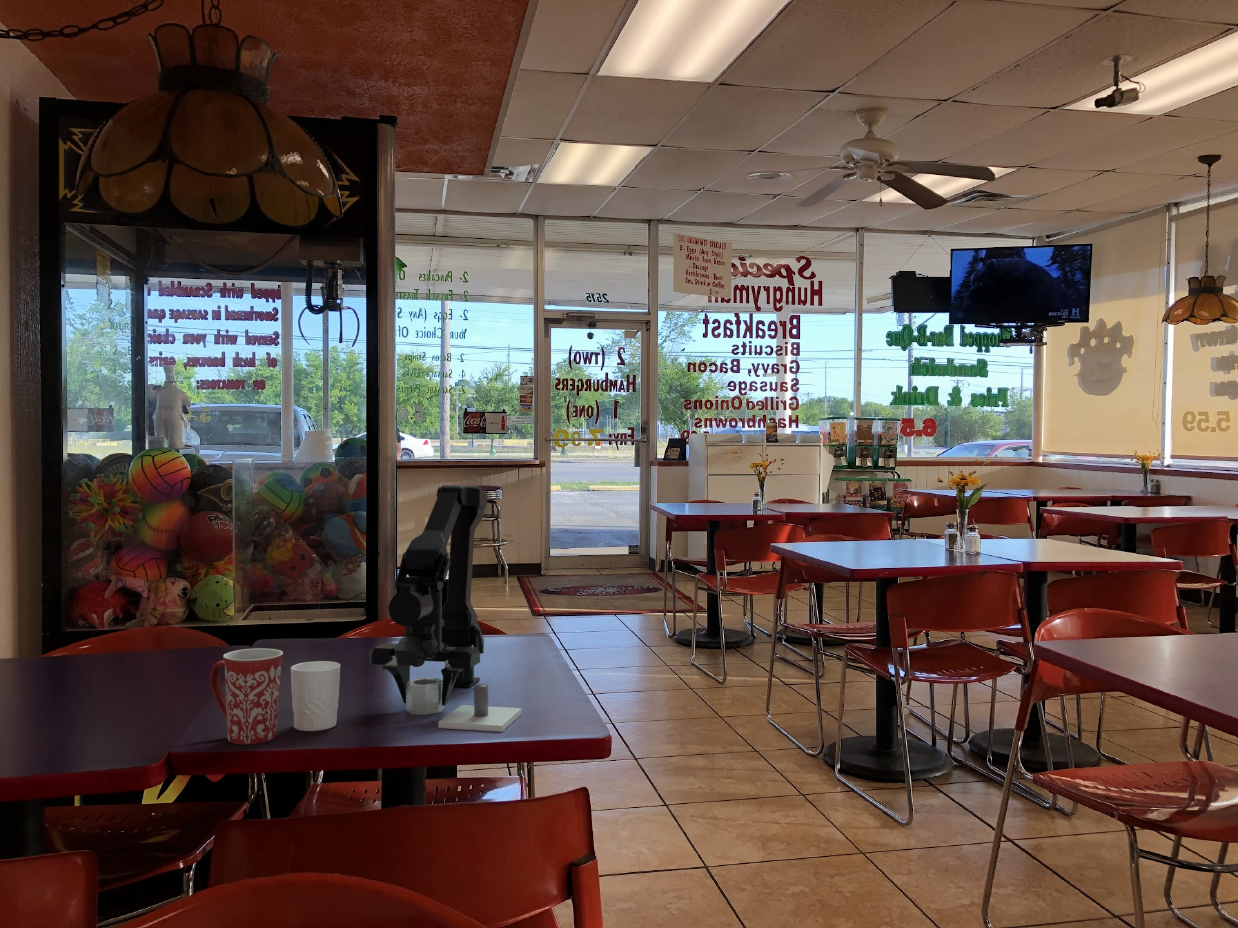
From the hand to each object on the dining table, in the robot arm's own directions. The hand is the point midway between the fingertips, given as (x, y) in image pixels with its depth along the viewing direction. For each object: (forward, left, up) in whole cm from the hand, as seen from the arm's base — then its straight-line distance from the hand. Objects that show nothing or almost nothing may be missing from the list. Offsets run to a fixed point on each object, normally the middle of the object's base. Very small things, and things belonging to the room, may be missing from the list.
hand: (425, 704), depth 168 cm
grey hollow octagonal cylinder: (0, 0, -1) cm, 1 cm away
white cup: (+13, -14, -1) cm, 19 cm away
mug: (+21, -22, -1) cm, 30 cm away
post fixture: (+4, +12, -1) cm, 13 cm away
